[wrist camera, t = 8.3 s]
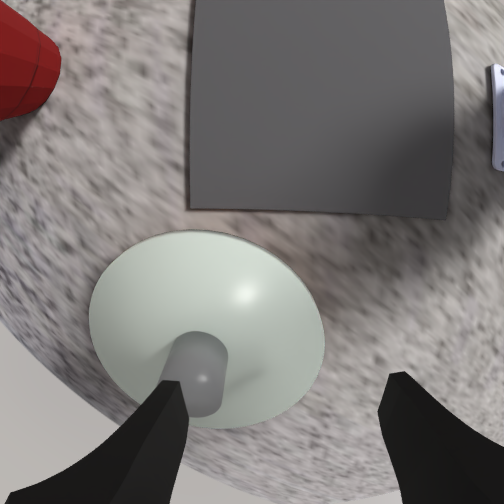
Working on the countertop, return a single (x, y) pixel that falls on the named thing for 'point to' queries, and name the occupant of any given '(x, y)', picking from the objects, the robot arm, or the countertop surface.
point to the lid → (208, 326)
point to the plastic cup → (24, 65)
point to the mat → (322, 106)
